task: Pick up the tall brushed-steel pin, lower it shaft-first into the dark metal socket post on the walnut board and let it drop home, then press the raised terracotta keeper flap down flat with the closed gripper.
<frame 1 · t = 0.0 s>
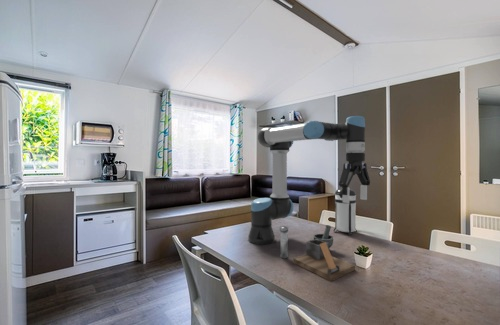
hand: (355, 201, 105), 28 cm above the table, fingers open, 13 cm apart
mortar and pestle: (323, 250, 123), on the table
keeper flap: (328, 257, 96), point 7 cm above the table, hinge at 60.0°
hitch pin: (283, 257, 114), on the table
hitch board: (323, 266, 104), on the table
coffee press: (345, 231, 154), on the table
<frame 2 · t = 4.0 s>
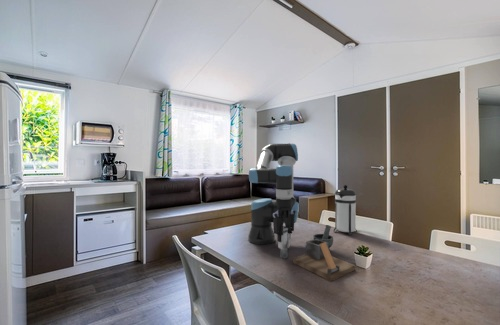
hand: (283, 247, 114), 5 cm above the table, fingers closed on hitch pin, 3 cm apart
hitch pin: (283, 256, 114), on the table, touching gripper
everything else where it was.
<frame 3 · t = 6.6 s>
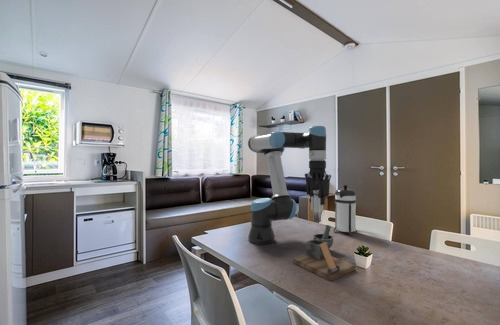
hand: (317, 210, 110), 22 cm above the table, fingers closed on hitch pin, 3 cm apart
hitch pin: (317, 220, 110), point 18 cm above the table, touching gripper
everything else where it was.
when the fingers open (10 cm above the table, at t = 9.1 s): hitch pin drops 5 cm, resting in hitch board.
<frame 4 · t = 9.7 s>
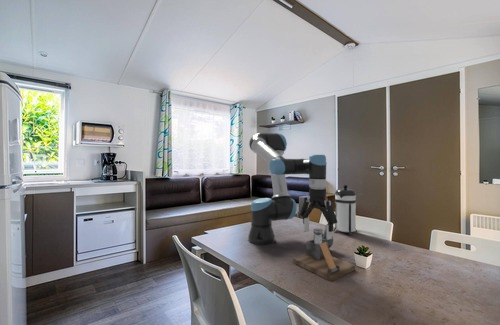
hand: (317, 234, 111), 11 cm above the table, fingers open, 12 cm apart
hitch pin: (317, 260, 110), resting in hitch board
everything else where it was.
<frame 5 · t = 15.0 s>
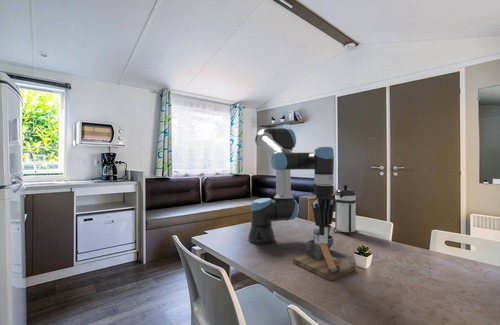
hand: (323, 242, 98), 12 cm above the table, fingers closed
keeper flap: (328, 257, 96), point 7 cm above the table, hinge at 59.4°, touching gripper
everything else where it was.
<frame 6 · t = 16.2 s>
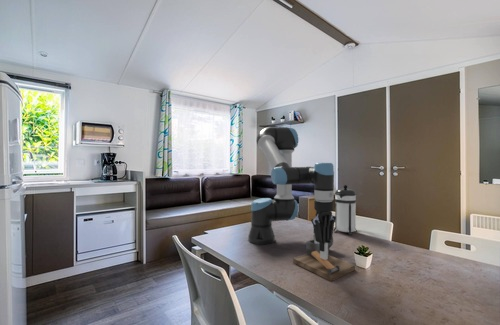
hand: (323, 258, 98), 6 cm above the table, fingers closed
keeper flap: (323, 261, 98), point 5 cm above the table, hinge at 21.8°, touching gripper
everything else where it was.
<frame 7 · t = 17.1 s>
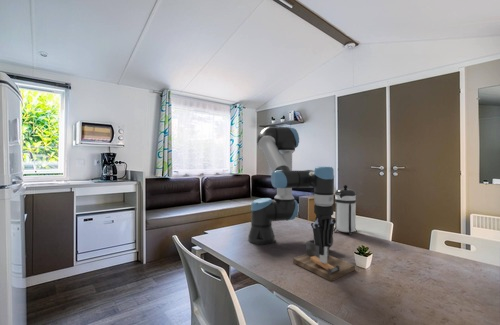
hand: (323, 262, 98), 4 cm above the table, fingers closed
keeper flap: (323, 263, 98), point 3 cm above the table, hinge at 8.1°, touching gripper
everything else where it was.
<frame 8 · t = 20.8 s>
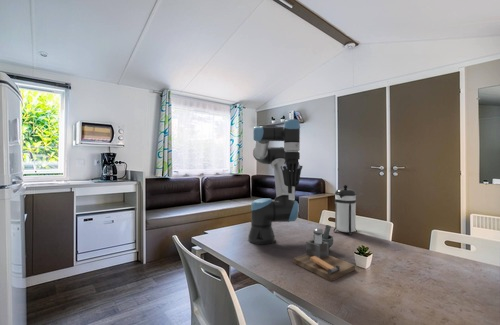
hand: (291, 199, 118), 26 cm above the table, fingers closed
keeper flap: (323, 263, 98), point 3 cm above the table, hinge at 8.0°
everything else where it was.
at the end: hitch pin 0.6 cm from the target spot on the hitch board, point 0.0 cm above the hitch board's base; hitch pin tilted 0°; keeper flap at +8° (first picture: +60°) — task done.
